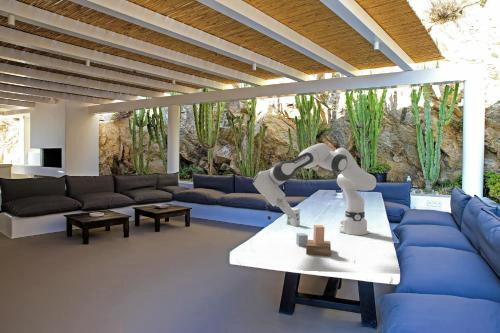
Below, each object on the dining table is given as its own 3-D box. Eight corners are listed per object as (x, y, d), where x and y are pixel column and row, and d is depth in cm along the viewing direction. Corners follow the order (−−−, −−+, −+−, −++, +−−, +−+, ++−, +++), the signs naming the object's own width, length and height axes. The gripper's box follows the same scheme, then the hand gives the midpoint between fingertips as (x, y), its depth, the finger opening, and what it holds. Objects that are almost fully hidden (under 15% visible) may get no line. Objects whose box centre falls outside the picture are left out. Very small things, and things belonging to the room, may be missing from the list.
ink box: (300, 225, 242) (300, 209, 241) (294, 226, 239) (295, 209, 238) (291, 223, 248) (291, 207, 248) (286, 224, 245) (286, 207, 245)
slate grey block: (296, 243, 193) (296, 233, 192) (304, 243, 193) (305, 233, 193) (298, 246, 188) (299, 235, 188) (307, 246, 188) (307, 235, 188)
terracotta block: (313, 241, 179) (313, 225, 179) (321, 242, 179) (322, 225, 179) (315, 244, 175) (315, 227, 174) (323, 244, 175) (324, 227, 174)
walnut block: (307, 248, 184) (307, 239, 184) (330, 250, 182) (330, 241, 182) (306, 255, 173) (306, 245, 173) (330, 257, 170) (330, 247, 170)
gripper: (282, 196, 166) (302, 217, 166) (280, 191, 187) (297, 210, 187) (273, 205, 167) (292, 225, 167) (272, 199, 187) (289, 218, 187)
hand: (295, 217), depth 177 cm, fingers open, 8 cm apart
